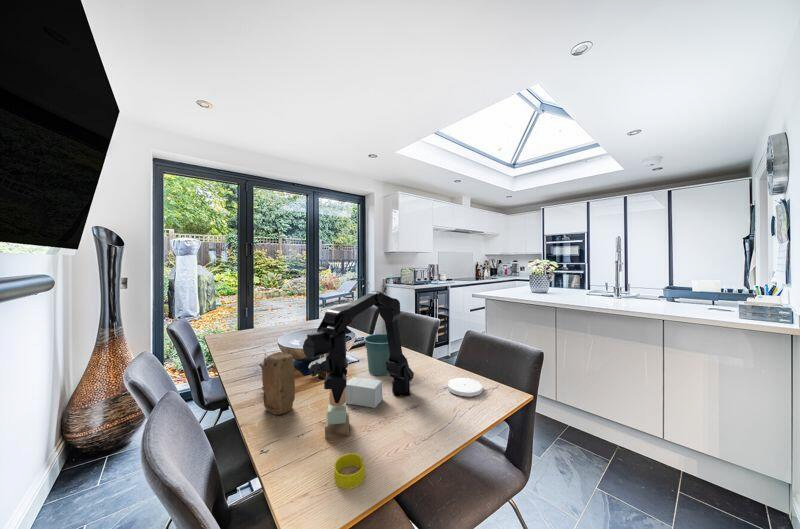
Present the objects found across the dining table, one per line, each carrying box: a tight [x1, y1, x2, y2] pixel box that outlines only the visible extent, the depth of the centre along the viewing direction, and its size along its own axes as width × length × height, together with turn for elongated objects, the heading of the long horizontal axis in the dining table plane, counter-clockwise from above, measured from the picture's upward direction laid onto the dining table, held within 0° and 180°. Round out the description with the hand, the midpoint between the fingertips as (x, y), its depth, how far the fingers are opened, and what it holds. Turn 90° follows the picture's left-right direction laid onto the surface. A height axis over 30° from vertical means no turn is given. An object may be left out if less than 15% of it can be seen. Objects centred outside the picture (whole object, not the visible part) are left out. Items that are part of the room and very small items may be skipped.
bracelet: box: [333, 452, 365, 490], centre depth 72 cm, size 7×8×3 cm
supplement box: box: [346, 376, 383, 409], centre depth 110 cm, size 7×7×13 cm
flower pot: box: [363, 333, 390, 377], centre depth 139 cm, size 16×16×16 cm
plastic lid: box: [446, 377, 483, 397], centre depth 119 cm, size 14×14×2 cm
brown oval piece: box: [328, 388, 346, 406], centre depth 91 cm, size 5×5×4 cm
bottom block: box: [324, 411, 350, 440], centre depth 91 cm, size 7×7×4 cm
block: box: [261, 351, 296, 416], centre depth 104 cm, size 11×8×20 cm
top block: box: [326, 402, 347, 425], centre depth 91 cm, size 6×6×4 cm
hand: (337, 398), depth 91 cm, fingers closed on brown oval piece, 5 cm apart
